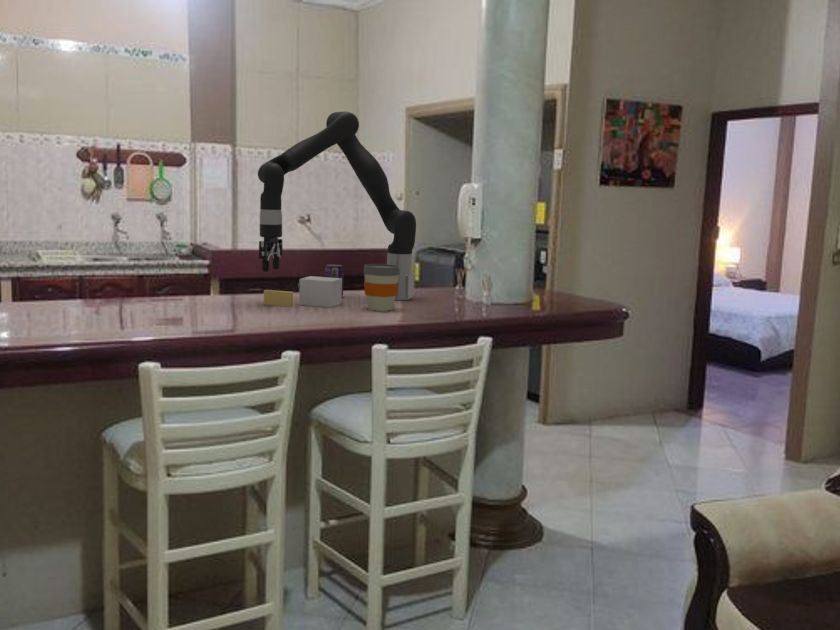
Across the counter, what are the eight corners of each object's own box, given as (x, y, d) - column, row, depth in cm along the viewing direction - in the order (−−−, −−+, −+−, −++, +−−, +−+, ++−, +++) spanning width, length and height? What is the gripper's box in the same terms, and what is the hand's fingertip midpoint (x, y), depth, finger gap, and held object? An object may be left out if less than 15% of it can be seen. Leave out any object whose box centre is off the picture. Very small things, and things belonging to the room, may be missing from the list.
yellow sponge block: (292, 306, 272) (293, 291, 271) (290, 307, 270) (290, 292, 269) (266, 304, 274) (266, 289, 273) (263, 304, 272) (263, 290, 271)
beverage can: (346, 297, 298) (347, 265, 296) (335, 298, 292) (335, 266, 290) (332, 295, 301) (332, 263, 299) (320, 296, 295) (320, 264, 293)
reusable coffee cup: (398, 312, 267) (399, 268, 264) (361, 311, 267) (362, 266, 264) (398, 306, 279) (400, 264, 277) (363, 305, 279) (364, 263, 277)
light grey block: (341, 303, 281) (342, 278, 280) (331, 307, 272) (332, 281, 270) (308, 300, 284) (308, 276, 283) (297, 304, 275) (297, 278, 273)
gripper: (272, 224, 260) (272, 273, 263) (289, 222, 274) (289, 268, 277) (251, 223, 262) (251, 272, 265) (269, 221, 276) (269, 267, 278)
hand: (271, 270), depth 271 cm, fingers open, 8 cm apart
